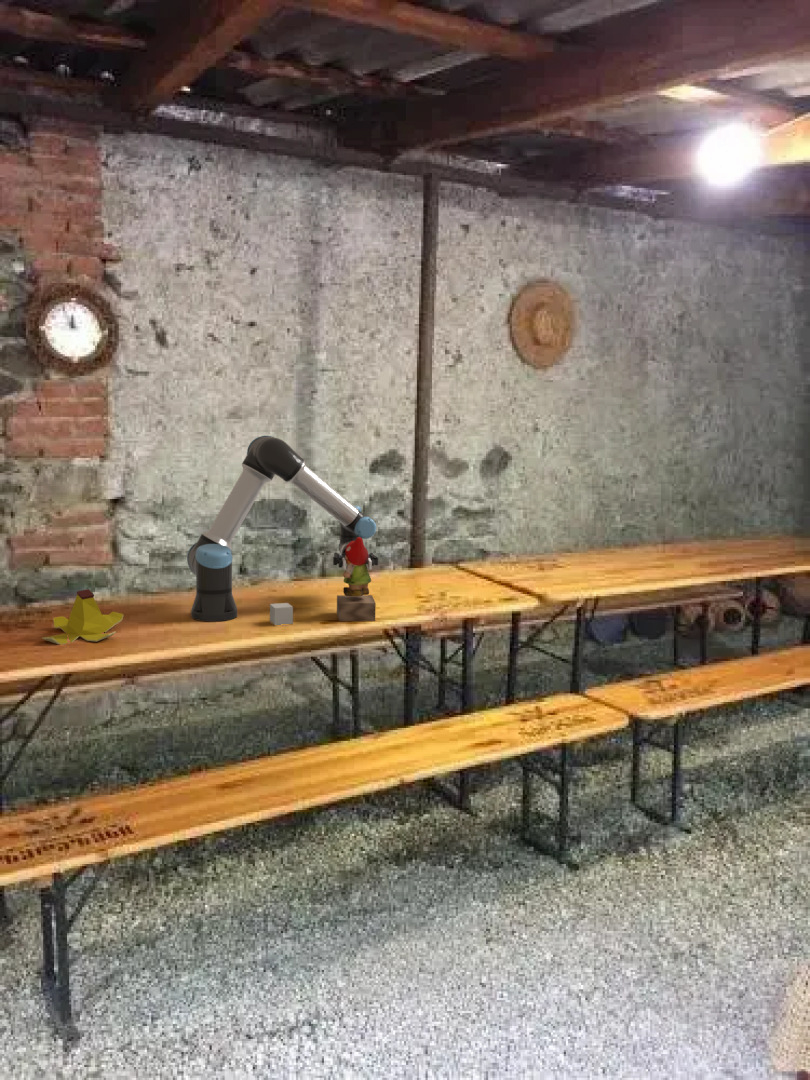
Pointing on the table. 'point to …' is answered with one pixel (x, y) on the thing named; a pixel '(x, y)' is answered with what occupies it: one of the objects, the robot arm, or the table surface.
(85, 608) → the banana peel
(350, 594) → the figurine
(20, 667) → the table surface
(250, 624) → the table surface
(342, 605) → the pedestal
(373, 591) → the table surface
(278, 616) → the grey cube
